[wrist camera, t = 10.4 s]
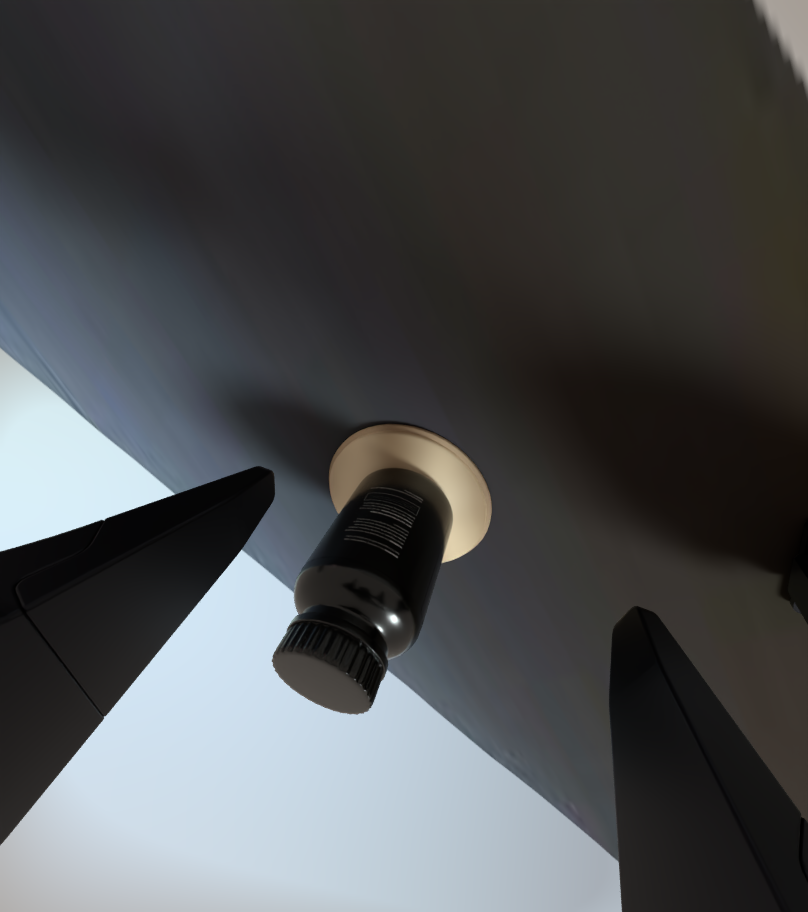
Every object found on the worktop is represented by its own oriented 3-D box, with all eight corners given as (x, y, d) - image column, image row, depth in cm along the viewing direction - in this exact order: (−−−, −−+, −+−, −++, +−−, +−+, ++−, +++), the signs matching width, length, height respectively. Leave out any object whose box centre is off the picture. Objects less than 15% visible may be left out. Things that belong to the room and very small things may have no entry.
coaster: (467, 409, 21) (465, 415, 21) (507, 559, 26) (506, 568, 26) (305, 437, 26) (299, 443, 26) (365, 558, 31) (361, 566, 31)
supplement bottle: (342, 497, 27) (227, 655, 18) (397, 444, 23) (287, 612, 14) (412, 556, 28) (339, 736, 19) (478, 515, 24) (427, 718, 15)
